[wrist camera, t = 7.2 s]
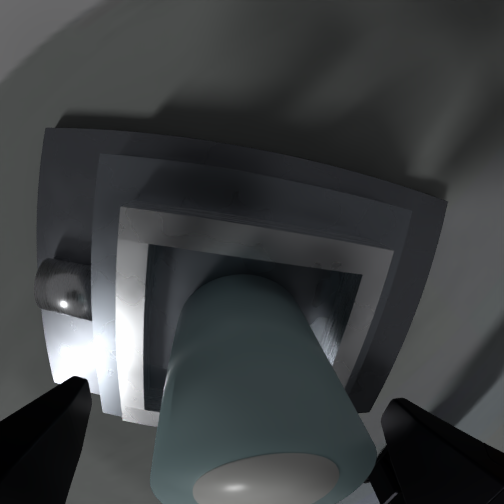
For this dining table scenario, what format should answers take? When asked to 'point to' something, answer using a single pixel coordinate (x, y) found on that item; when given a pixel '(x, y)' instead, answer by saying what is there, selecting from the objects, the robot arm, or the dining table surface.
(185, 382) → the cylinder
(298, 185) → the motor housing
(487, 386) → the dining table surface
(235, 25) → the dining table surface
